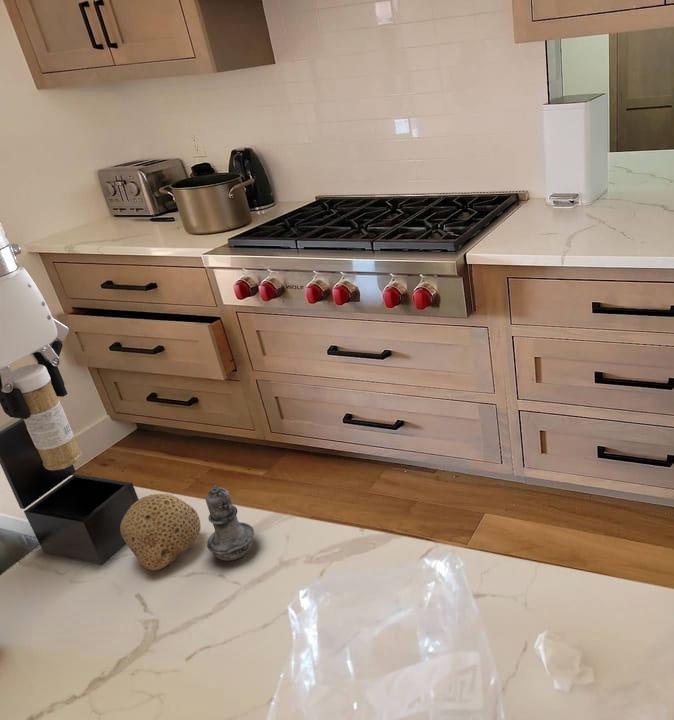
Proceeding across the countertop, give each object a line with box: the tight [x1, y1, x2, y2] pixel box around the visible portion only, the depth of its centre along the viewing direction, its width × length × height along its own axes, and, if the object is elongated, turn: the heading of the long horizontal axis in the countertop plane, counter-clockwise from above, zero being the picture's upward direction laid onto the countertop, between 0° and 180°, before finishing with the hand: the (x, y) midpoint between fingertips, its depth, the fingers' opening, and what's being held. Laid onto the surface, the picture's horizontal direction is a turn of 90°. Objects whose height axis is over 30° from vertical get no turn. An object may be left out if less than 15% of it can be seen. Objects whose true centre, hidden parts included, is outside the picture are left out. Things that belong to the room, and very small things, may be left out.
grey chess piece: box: [205, 484, 255, 561], centre depth 87 cm, size 6×6×12 cm
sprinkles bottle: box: [10, 363, 83, 470], centre depth 86 cm, size 5×5×14 cm
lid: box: [0, 417, 77, 510], centre depth 91 cm, size 11×8×5 cm
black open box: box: [23, 473, 140, 566], centre depth 93 cm, size 10×8×8 cm
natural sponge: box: [120, 493, 201, 571], centre depth 88 cm, size 9×9×10 cm
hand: (38, 404), depth 85 cm, fingers closed on sprinkles bottle, 4 cm apart
